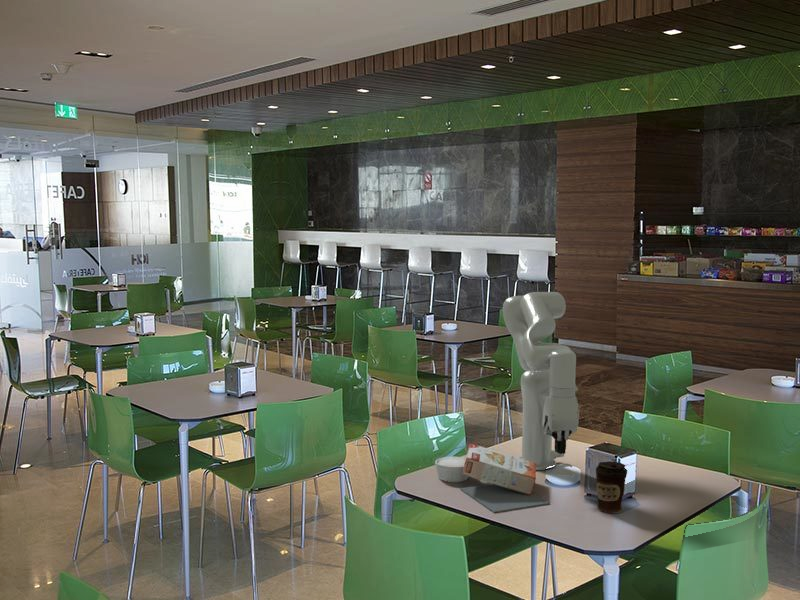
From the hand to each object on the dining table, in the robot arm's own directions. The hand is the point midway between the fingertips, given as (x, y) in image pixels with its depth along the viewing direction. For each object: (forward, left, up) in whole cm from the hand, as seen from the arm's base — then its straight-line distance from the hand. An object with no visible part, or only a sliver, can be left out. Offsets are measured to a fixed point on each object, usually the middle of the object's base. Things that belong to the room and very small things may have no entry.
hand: (560, 452), depth 233 cm
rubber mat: (+19, 0, -11) cm, 22 cm away
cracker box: (+7, -2, -8) cm, 11 cm away
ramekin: (+25, -20, -11) cm, 34 cm away
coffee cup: (-3, +20, -11) cm, 23 cm away
